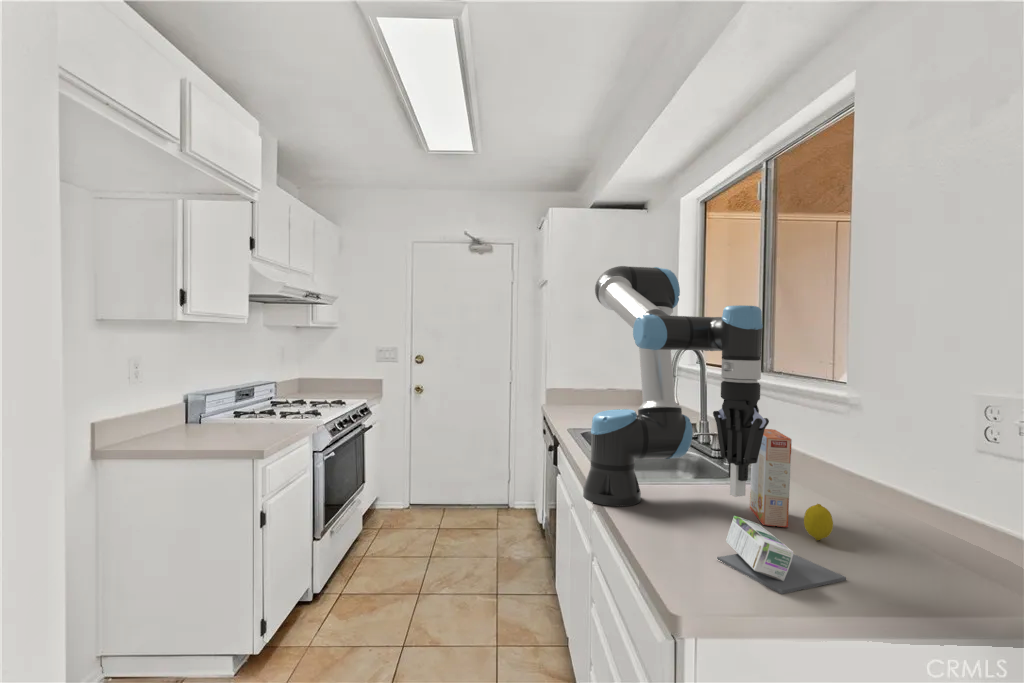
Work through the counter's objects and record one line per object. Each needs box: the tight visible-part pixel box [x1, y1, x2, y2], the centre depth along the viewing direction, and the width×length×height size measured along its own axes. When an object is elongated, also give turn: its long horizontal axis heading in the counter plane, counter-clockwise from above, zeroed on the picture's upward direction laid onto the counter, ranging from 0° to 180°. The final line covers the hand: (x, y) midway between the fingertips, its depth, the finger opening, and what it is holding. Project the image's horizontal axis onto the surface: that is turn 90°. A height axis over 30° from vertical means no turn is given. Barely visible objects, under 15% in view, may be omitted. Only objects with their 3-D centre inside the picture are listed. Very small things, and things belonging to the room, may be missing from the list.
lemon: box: [803, 503, 834, 541], centre depth 120 cm, size 6×6×8 cm
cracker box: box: [749, 428, 793, 528], centre depth 135 cm, size 14×6×21 cm, turn 168°
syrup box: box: [725, 515, 795, 581], centre depth 105 cm, size 6×6×14 cm
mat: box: [716, 553, 847, 595], centre depth 104 cm, size 15×16×1 cm
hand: (737, 495), depth 114 cm, fingers closed
